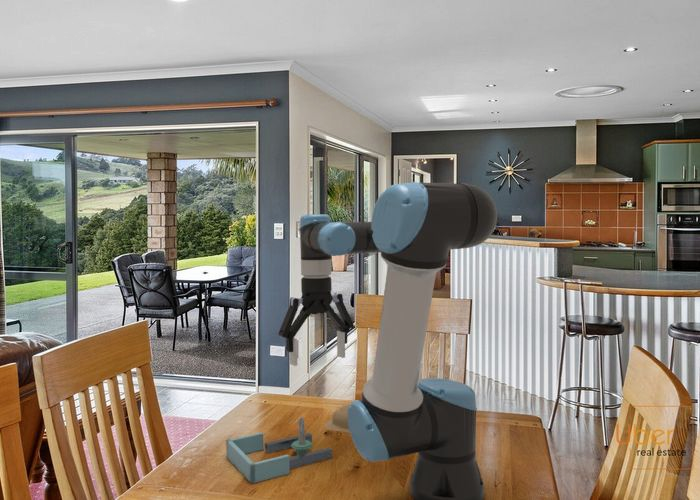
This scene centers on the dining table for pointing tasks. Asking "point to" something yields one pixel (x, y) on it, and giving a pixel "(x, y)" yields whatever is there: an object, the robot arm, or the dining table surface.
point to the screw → (301, 440)
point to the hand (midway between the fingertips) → (318, 360)
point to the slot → (302, 458)
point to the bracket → (258, 469)
